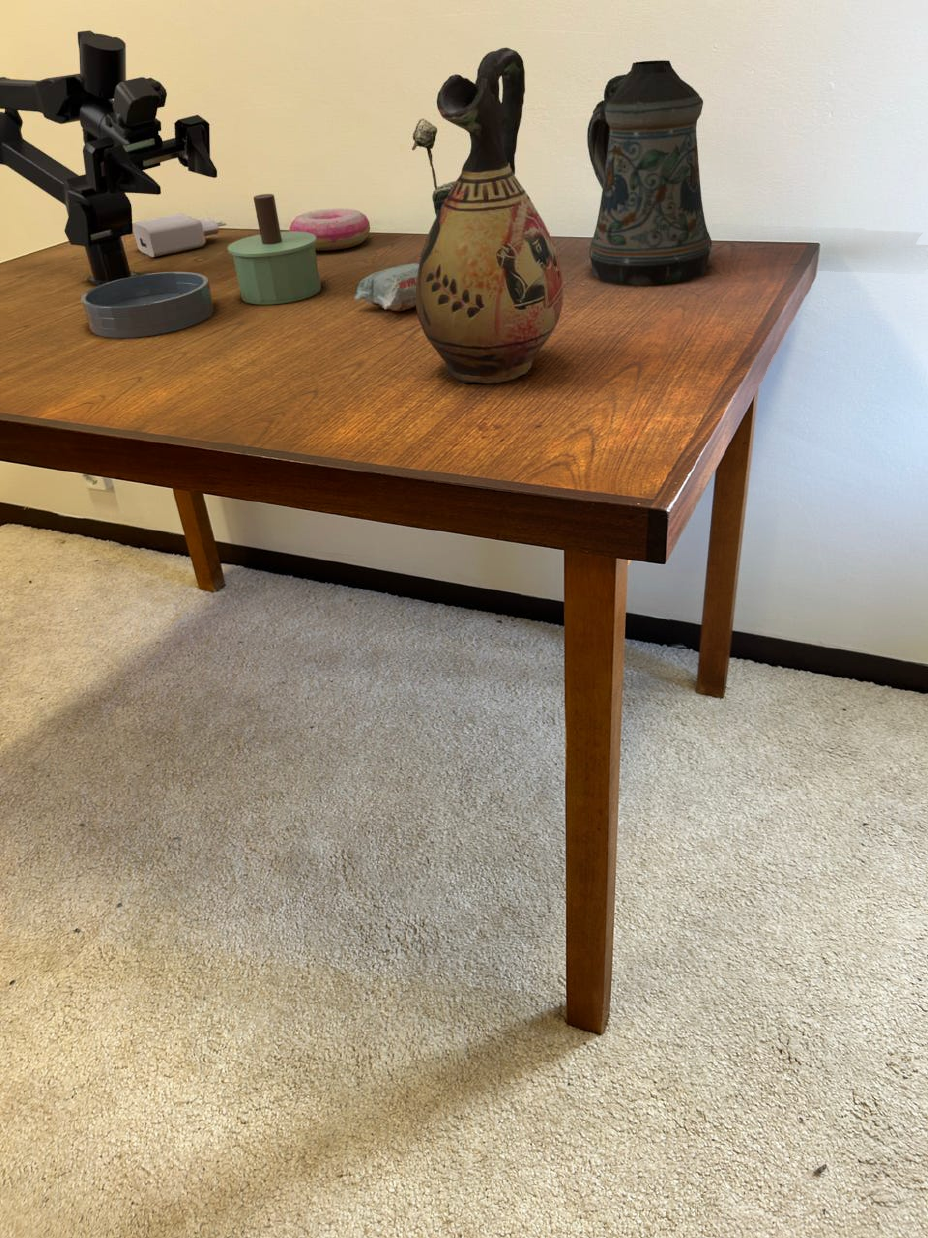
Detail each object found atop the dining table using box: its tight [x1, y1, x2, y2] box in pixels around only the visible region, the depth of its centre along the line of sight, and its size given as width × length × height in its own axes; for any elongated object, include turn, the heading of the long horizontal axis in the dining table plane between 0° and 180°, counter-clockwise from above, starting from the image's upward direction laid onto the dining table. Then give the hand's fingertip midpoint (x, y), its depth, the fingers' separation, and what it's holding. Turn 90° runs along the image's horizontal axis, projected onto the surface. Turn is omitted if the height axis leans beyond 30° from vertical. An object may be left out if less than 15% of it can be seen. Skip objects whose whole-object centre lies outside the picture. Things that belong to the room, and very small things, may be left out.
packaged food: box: [354, 262, 419, 312], centre depth 124 cm, size 9×12×5 cm
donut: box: [288, 207, 371, 252], centre depth 157 cm, size 14×13×5 cm
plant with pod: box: [411, 118, 456, 218], centre depth 135 cm, size 8×11×20 cm
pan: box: [80, 271, 215, 339], centre depth 129 cm, size 17×17×4 cm
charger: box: [132, 213, 227, 258], centre depth 165 cm, size 5×9×15 cm
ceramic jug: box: [415, 47, 564, 384], centre depth 95 cm, size 17×15×30 cm
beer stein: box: [586, 59, 713, 287], centre depth 125 cm, size 16×19×25 cm
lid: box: [227, 193, 317, 257], centre depth 130 cm, size 12×12×7 cm
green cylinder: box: [232, 245, 322, 306], centre depth 134 cm, size 11×11×6 cm
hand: (188, 182), depth 127 cm, fingers open, 9 cm apart
